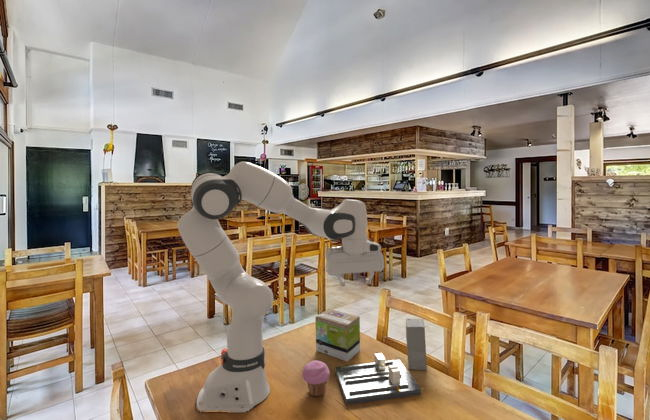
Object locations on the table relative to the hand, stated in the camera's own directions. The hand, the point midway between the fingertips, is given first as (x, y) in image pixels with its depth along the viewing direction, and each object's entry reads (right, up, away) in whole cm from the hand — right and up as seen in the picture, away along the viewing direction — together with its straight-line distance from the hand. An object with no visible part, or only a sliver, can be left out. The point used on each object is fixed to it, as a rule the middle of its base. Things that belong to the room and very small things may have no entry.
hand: (355, 284), depth 119 cm
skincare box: (+23, -30, +5) cm, 38 cm away
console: (+6, -32, -5) cm, 33 cm away
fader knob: (+12, -29, -9) cm, 33 cm away
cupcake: (-13, -33, -10) cm, 37 cm away
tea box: (-5, -30, +16) cm, 35 cm away
